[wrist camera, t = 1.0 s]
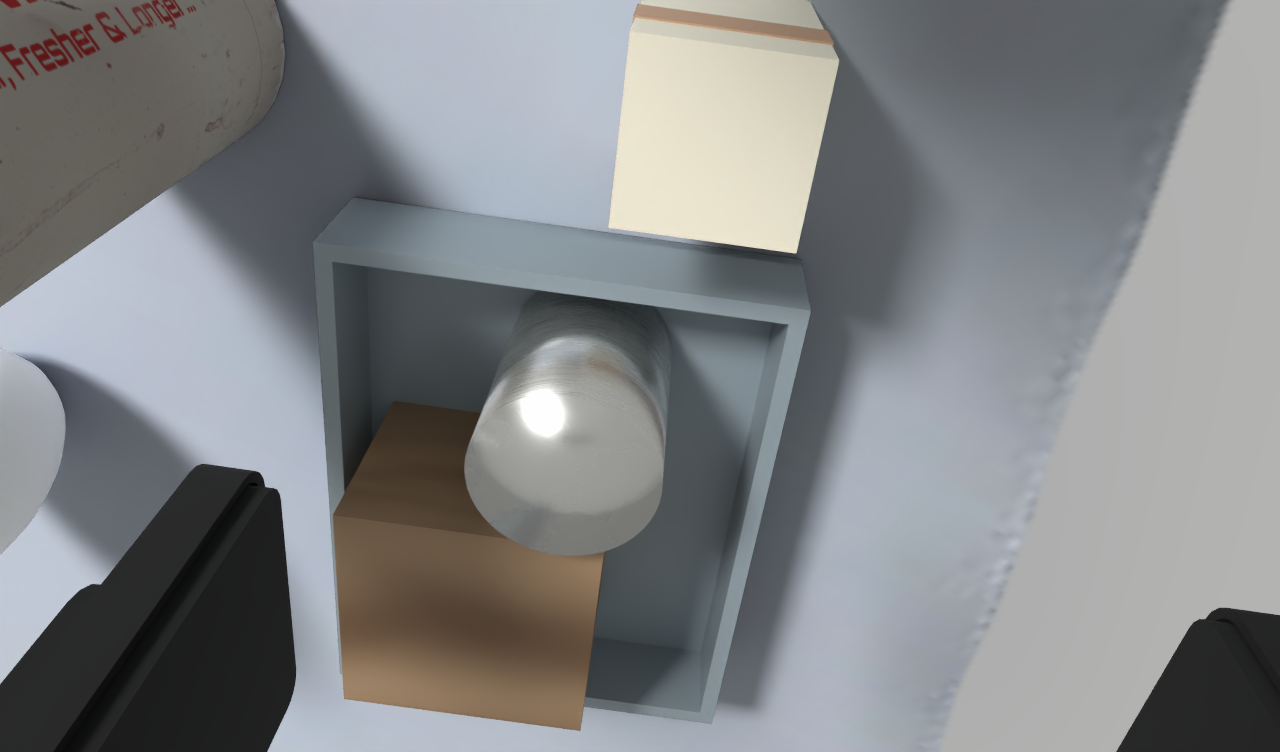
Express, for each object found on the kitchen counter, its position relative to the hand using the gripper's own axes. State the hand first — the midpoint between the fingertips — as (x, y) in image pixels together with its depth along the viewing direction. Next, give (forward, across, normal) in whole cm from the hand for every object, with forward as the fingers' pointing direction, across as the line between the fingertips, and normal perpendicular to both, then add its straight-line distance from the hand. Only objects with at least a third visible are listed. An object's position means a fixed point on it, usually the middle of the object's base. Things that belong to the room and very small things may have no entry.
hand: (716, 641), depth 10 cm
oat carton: (+24, 0, 0) cm, 24 cm away
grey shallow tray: (+24, +4, +16) cm, 29 cm away
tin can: (+24, +3, +10) cm, 26 cm away
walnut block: (+24, +6, +18) cm, 31 cm away
